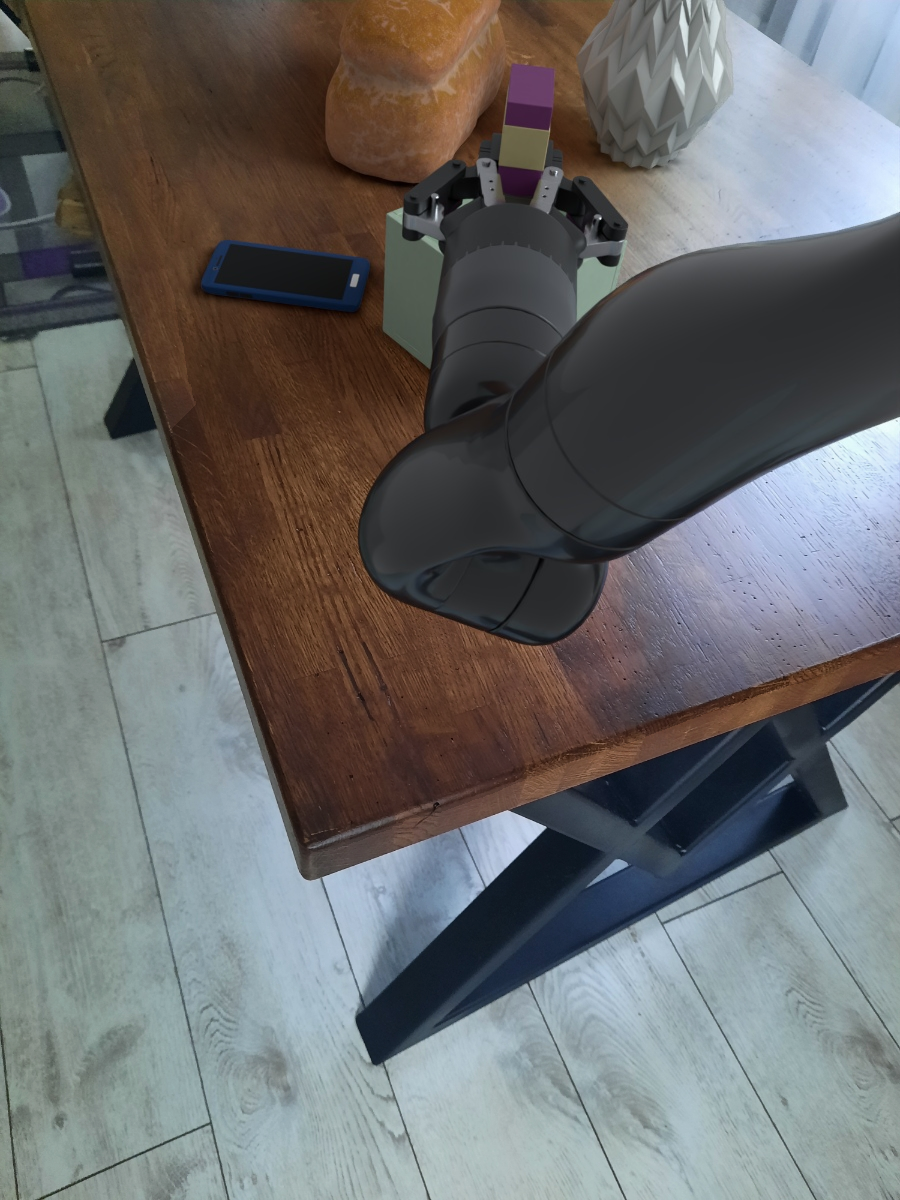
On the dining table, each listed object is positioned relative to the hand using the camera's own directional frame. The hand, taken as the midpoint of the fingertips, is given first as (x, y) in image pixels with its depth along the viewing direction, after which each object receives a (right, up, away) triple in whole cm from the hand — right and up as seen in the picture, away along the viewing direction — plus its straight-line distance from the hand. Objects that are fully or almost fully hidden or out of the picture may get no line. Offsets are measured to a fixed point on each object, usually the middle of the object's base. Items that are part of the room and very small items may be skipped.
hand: (520, 151), depth 60 cm
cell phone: (-19, -1, +23) cm, 30 cm away
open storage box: (-1, -7, +20) cm, 21 cm away
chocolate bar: (-1, -6, +3) cm, 7 cm away
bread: (-8, +23, +41) cm, 48 cm away
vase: (+16, +20, +42) cm, 49 cm away
